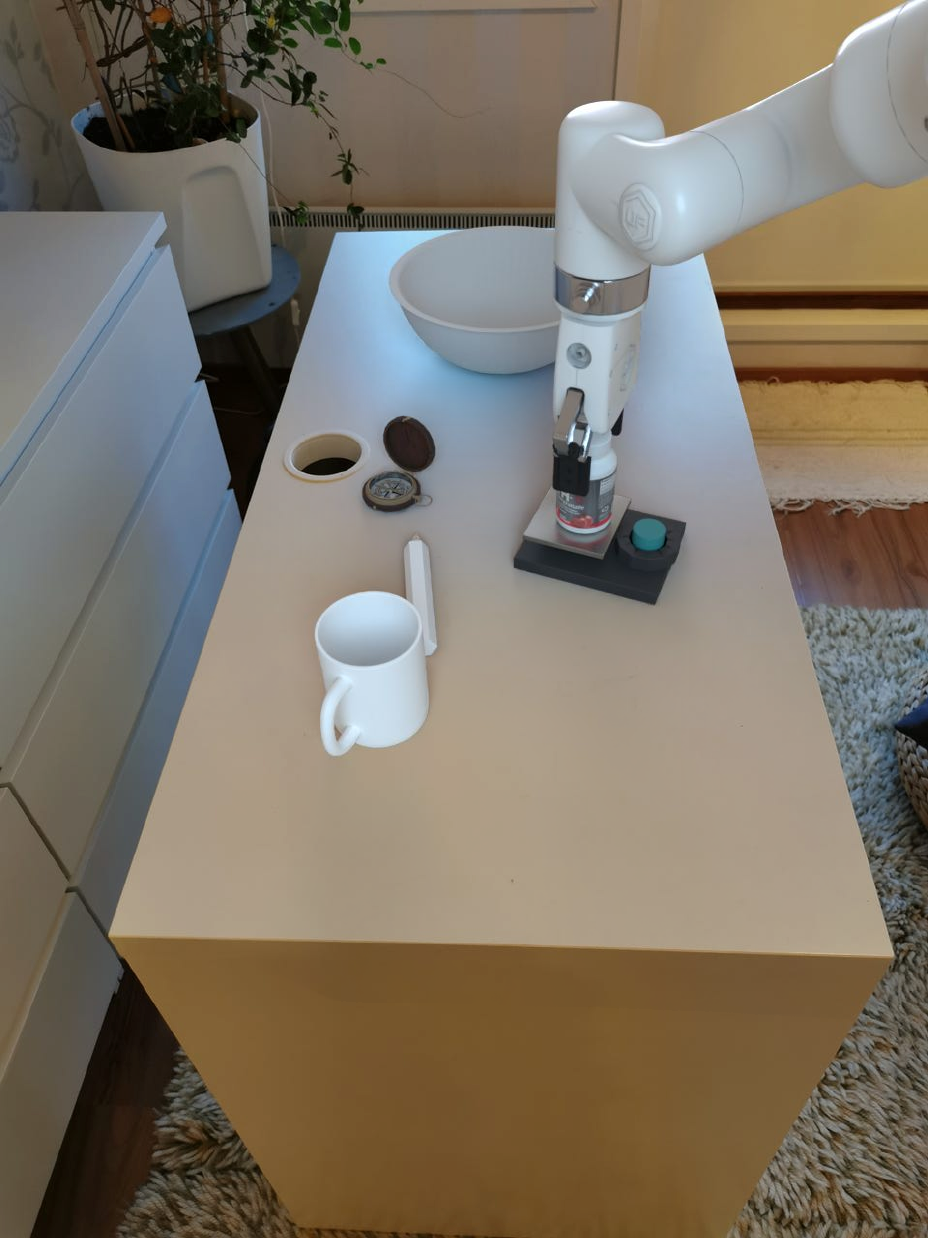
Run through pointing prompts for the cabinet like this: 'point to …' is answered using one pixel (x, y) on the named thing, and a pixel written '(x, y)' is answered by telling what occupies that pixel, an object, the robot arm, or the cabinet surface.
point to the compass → (401, 466)
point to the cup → (371, 671)
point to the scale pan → (554, 535)
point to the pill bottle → (591, 489)
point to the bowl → (483, 297)
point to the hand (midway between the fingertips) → (587, 460)
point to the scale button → (648, 534)
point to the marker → (420, 588)
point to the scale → (610, 561)
